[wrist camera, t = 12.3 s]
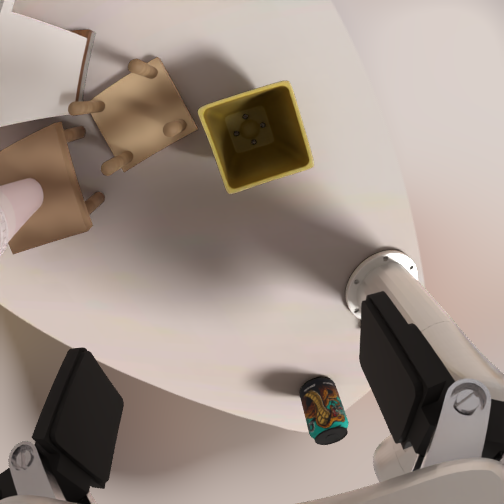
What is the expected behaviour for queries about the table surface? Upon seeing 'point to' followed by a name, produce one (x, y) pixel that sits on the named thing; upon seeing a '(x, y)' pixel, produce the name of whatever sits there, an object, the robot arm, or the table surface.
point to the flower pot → (257, 136)
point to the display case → (39, 67)
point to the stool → (49, 186)
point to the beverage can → (323, 411)
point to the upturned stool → (138, 115)
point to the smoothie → (17, 207)
